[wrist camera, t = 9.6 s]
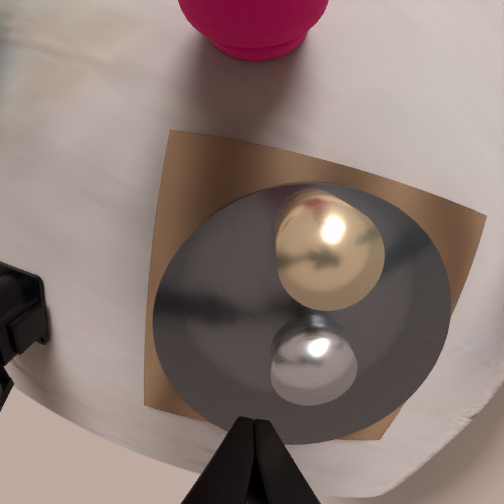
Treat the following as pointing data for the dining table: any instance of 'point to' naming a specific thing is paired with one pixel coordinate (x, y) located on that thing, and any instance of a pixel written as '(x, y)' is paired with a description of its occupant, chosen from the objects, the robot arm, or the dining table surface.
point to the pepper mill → (254, 24)
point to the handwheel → (302, 311)
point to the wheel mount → (266, 175)
